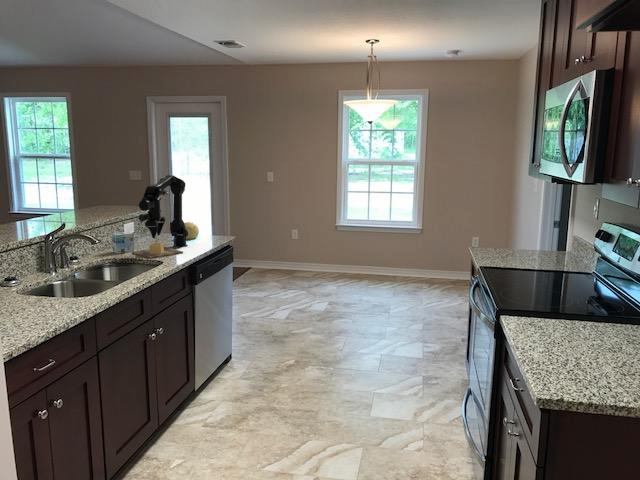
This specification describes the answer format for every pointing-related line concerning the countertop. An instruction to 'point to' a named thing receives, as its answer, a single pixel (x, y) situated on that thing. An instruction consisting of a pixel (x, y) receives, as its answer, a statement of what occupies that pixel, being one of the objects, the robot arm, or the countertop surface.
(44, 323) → the countertop surface
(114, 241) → the light bulb box
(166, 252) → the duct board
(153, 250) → the collar
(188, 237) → the sculpture
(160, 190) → the robot arm
